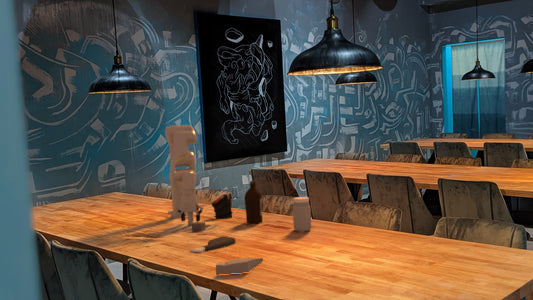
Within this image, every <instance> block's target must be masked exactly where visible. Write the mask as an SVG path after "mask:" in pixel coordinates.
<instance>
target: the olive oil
mask: <svg viewBox="0 0 533 300" xmlns="http://www.w3.org/2000/svg"><path fill="white" fill-rule="evenodd" d="M244 205H245V206H244V207H245V215H246V218H245V219H246V223H247V224H253V225H254V224H255V225H256V224H257V225H258V224H261V223H263V195H262V192H261V191H260V190H259V189H258V188H257V187H256V181H255V180H250V181H249V188H248V190H247V191H246V192H245V193H244Z"/></svg>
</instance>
